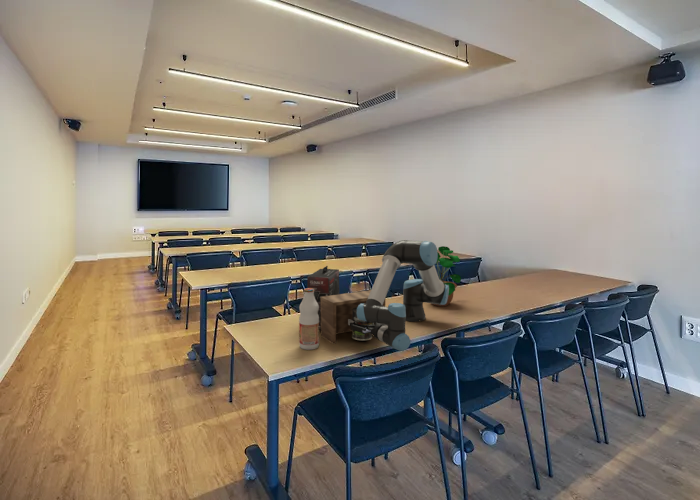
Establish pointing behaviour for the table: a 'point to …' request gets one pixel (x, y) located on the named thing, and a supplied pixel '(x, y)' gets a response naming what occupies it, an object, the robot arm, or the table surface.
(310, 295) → the fruit juice
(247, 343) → the table surface
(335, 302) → the cubby
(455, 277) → the potted plant
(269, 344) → the table surface
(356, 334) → the coffee can
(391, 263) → the robot arm
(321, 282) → the headset box
